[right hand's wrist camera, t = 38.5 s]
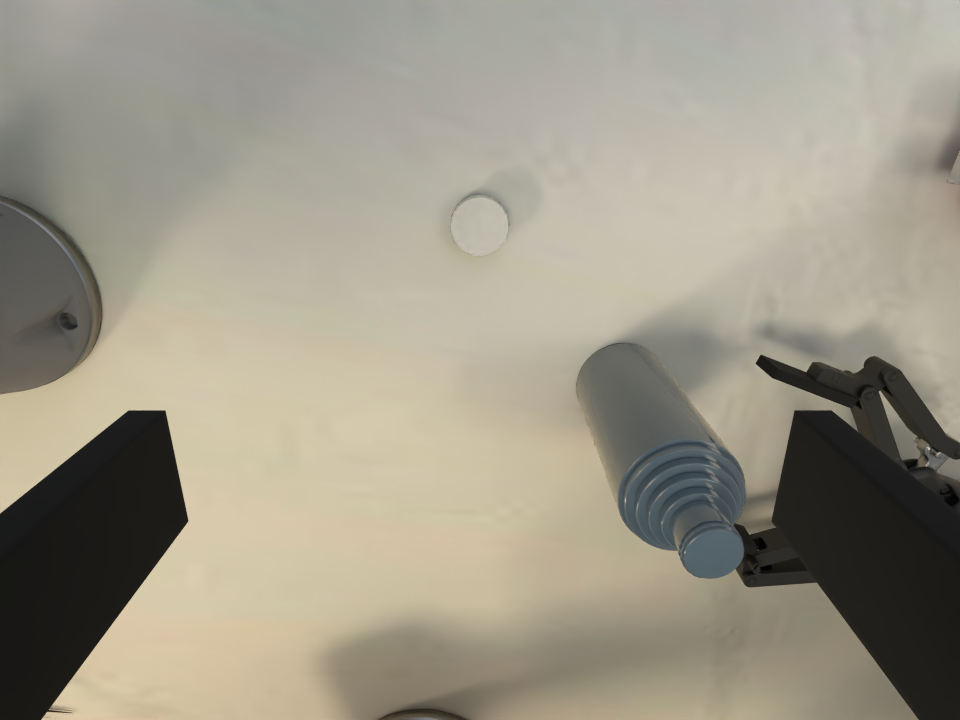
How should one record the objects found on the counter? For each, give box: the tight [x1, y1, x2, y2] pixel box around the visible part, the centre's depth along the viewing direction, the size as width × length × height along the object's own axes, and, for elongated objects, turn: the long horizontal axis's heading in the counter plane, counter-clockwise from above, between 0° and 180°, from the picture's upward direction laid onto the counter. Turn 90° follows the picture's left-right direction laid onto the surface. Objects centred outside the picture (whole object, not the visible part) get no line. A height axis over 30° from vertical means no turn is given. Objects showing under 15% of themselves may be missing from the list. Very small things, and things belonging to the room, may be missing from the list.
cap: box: [450, 194, 509, 256], centre depth 44 cm, size 4×4×2 cm
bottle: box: [576, 343, 746, 579], centre depth 40 cm, size 7×7×21 cm
